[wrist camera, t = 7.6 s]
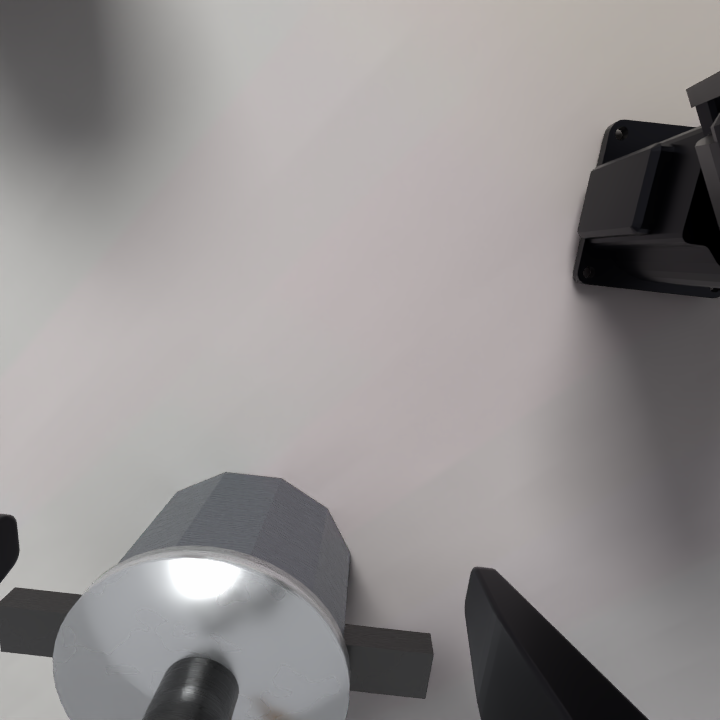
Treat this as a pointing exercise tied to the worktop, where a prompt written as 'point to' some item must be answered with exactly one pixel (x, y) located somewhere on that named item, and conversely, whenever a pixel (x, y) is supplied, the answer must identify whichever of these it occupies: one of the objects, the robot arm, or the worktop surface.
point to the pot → (264, 541)
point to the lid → (200, 643)
